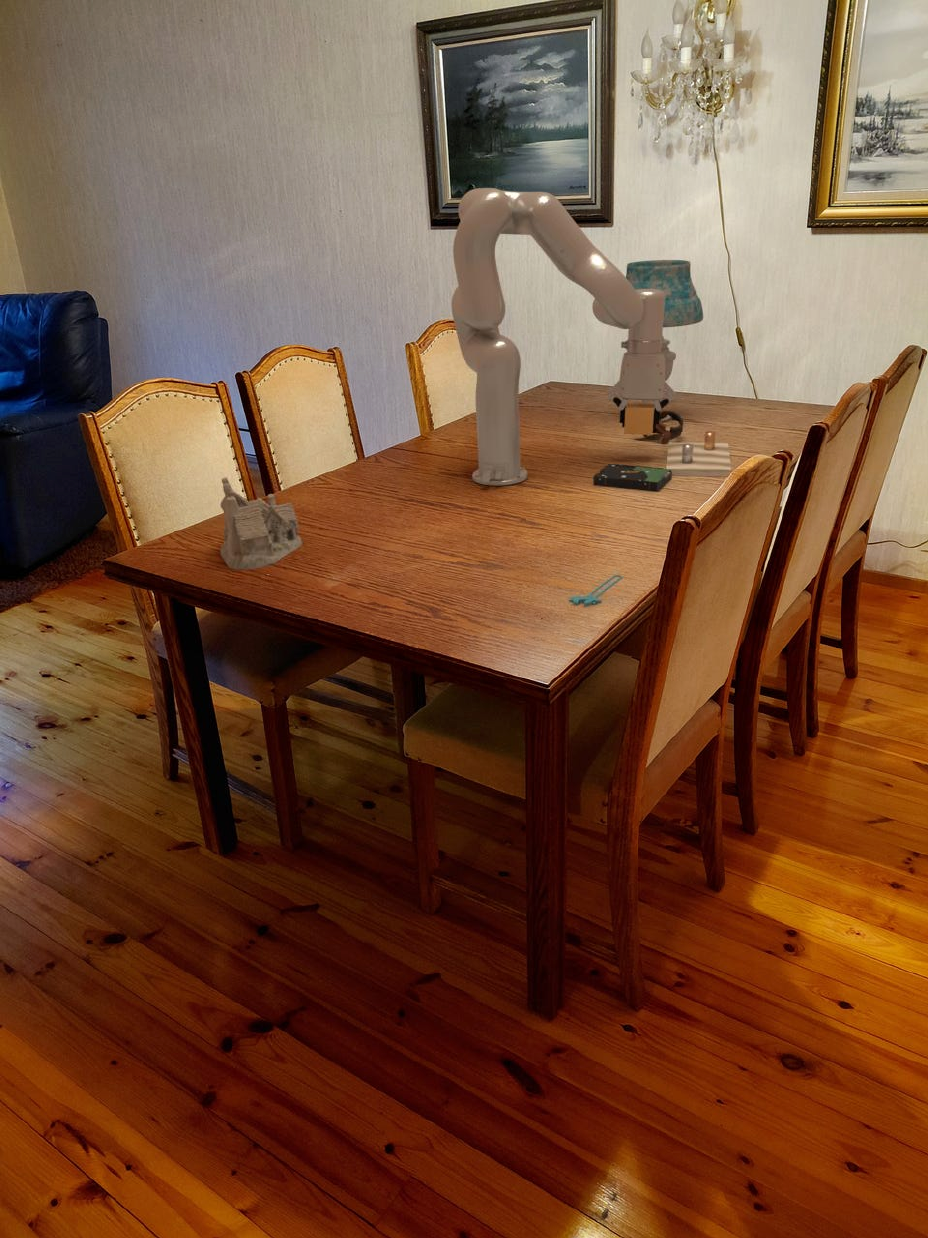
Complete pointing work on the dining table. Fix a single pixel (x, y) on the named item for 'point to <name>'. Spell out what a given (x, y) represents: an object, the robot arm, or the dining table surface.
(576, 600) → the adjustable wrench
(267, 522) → the ceramic cottage
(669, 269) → the table lamp
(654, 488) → the disk drive
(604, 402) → the dining table surface
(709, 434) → the copper post
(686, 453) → the steel post
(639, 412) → the mustard wooden cube
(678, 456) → the birch board
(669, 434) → the brown wheeled mechanism
